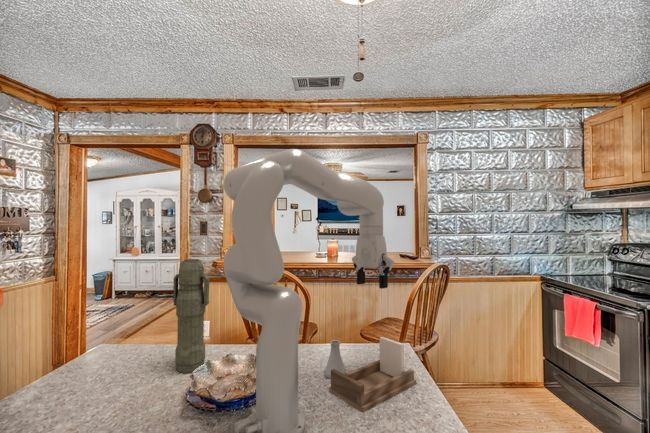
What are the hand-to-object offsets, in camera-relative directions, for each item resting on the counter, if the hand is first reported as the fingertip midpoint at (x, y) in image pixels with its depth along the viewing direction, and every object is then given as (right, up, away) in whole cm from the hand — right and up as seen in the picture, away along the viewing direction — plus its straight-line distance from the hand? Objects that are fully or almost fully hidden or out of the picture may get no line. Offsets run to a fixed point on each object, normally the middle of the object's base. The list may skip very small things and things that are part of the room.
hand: (371, 285), depth 99 cm
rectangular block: (+5, -25, -6) cm, 26 cm away
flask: (-12, -27, -3) cm, 30 cm away
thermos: (-59, -28, +3) cm, 65 cm away
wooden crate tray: (-1, -26, -11) cm, 29 cm away
